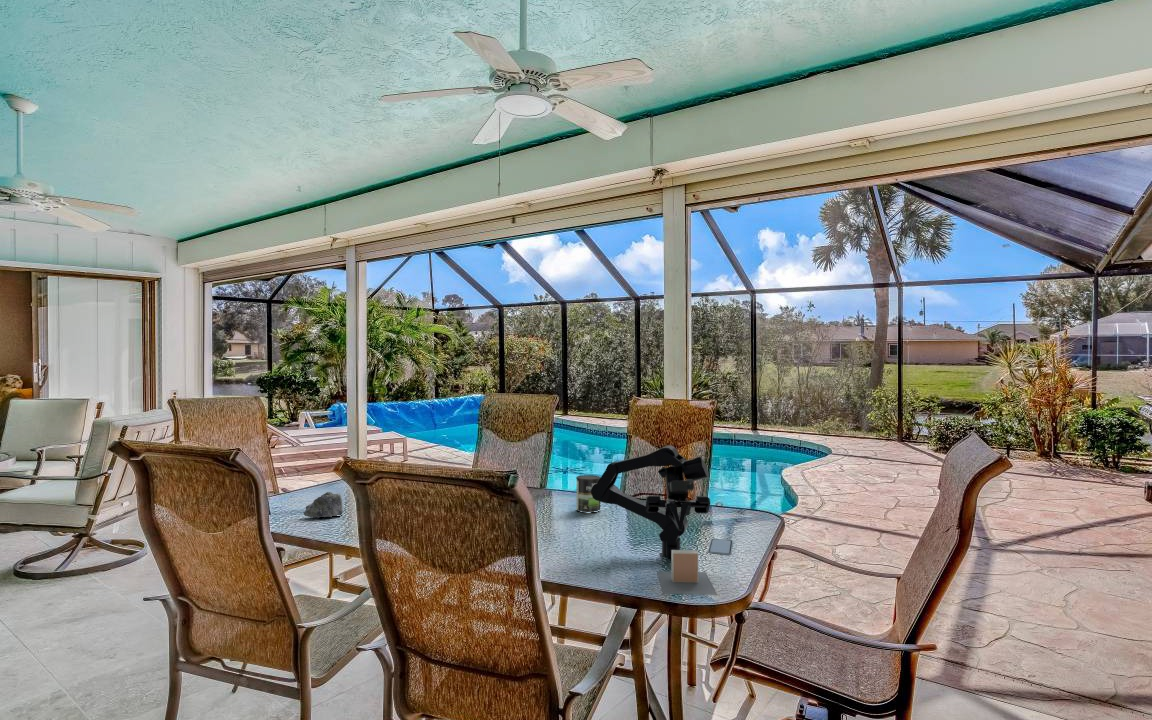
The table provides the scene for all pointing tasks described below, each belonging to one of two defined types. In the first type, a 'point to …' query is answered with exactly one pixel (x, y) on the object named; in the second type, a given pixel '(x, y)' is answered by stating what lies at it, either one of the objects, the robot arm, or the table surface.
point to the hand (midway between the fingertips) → (680, 529)
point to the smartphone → (720, 546)
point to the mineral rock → (325, 506)
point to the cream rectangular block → (684, 566)
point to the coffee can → (586, 493)
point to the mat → (686, 585)
